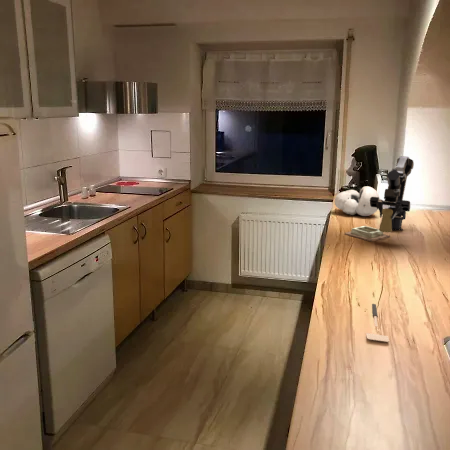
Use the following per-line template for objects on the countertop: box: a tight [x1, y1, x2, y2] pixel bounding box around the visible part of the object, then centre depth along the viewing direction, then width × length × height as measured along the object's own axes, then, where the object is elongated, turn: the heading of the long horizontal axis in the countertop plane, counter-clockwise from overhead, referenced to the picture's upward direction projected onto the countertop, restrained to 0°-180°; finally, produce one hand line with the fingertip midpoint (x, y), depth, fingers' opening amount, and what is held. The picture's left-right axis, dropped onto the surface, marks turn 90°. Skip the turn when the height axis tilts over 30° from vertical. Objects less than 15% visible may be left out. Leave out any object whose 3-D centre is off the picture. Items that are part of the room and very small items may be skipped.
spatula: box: [365, 303, 390, 343], centre depth 157 cm, size 6×29×2 cm, turn 166°
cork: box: [378, 208, 393, 233], centre depth 244 cm, size 6×6×11 cm
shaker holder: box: [344, 225, 390, 242], centre depth 258 cm, size 16×16×3 cm
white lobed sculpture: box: [334, 185, 381, 217], centre depth 303 cm, size 20×25×22 cm
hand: (386, 218), depth 243 cm, fingers closed on cork, 5 cm apart
